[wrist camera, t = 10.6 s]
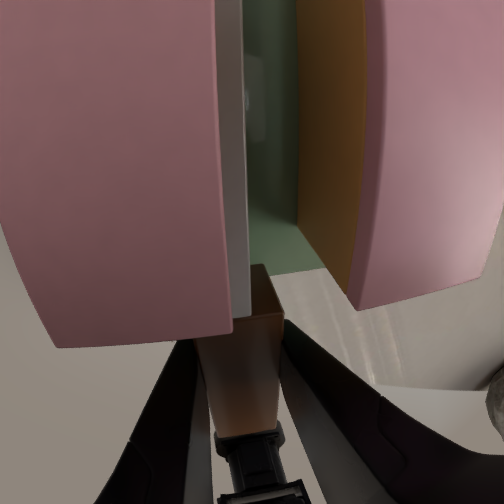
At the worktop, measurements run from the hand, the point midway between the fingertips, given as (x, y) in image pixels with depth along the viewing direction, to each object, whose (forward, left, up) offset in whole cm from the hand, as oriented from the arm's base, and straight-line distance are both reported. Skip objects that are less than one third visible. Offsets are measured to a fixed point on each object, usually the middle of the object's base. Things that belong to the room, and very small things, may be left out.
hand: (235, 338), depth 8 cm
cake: (+6, -4, -1) cm, 7 cm away
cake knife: (+2, 0, -1) cm, 2 cm away
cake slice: (+6, +2, -1) cm, 6 cm away
